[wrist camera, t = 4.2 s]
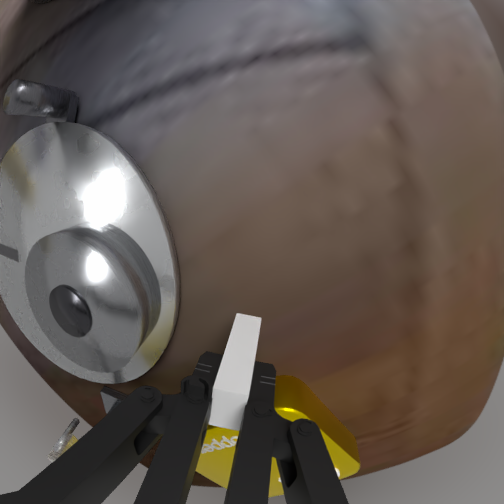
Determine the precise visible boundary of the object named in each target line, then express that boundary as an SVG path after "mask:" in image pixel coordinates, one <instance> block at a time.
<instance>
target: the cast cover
mask: <svg viewBox="0 0 504 504" xmlns="http://www.w3.org/2000/svg"><path fill="white" fill-rule="evenodd" d="M25 287H26V293H27V297H28V301H29V304H30V307H31V310H32V312H33V315H34V317H35V319H36V321H37V323H38V324H39V326H40V328H41V329H42V331H43V332H44V334H45V335H46V337H47V338H48V339H49V340H50V342H51V343H52V344H53V345H54V346H55V347H56V348H57V349H58V350H59V351H60V352H61V353H62V354H63V355H64V356H66V357H67V358H68V359H69V360H71V361H72V362H74V363H76V364H77V365H79V366H81V367H83V368H86V369H88V370H91V371H95V372H100V373H110V372H115V371H118V370H120V369H122V368H123V367H125V366H126V365H127V364H128V363H129V361H130V360H131V359H132V357H133V356H134V355H135V353H136V352H137V351H138V349H139V348H140V347H141V345H142V344H143V343H144V341H145V340H146V339H147V337H148V336H149V335H150V333H151V332H152V331H153V329H154V328H155V326H156V324H157V322H158V320H159V316H160V312H161V292H160V286H159V282H158V279H157V276H156V273H155V271H154V268H153V266H152V264H151V262H150V260H149V259H148V257H147V256H146V254H145V252H144V251H143V250H142V248H141V247H140V246H139V245H138V244H137V243H136V242H135V240H134V239H133V238H132V237H130V236H129V235H128V234H127V233H125V232H124V231H123V230H121V229H119V228H118V227H116V226H114V225H112V224H109V223H106V222H102V221H87V222H83V223H80V224H77V225H74V226H71V227H68V228H66V229H63V230H60V231H57V232H55V233H52V234H49V235H47V236H45V237H43V238H41V239H39V240H38V241H37V242H36V243H35V244H34V245H33V247H32V248H31V250H30V252H29V254H28V257H27V261H26V266H25Z"/></svg>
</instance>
